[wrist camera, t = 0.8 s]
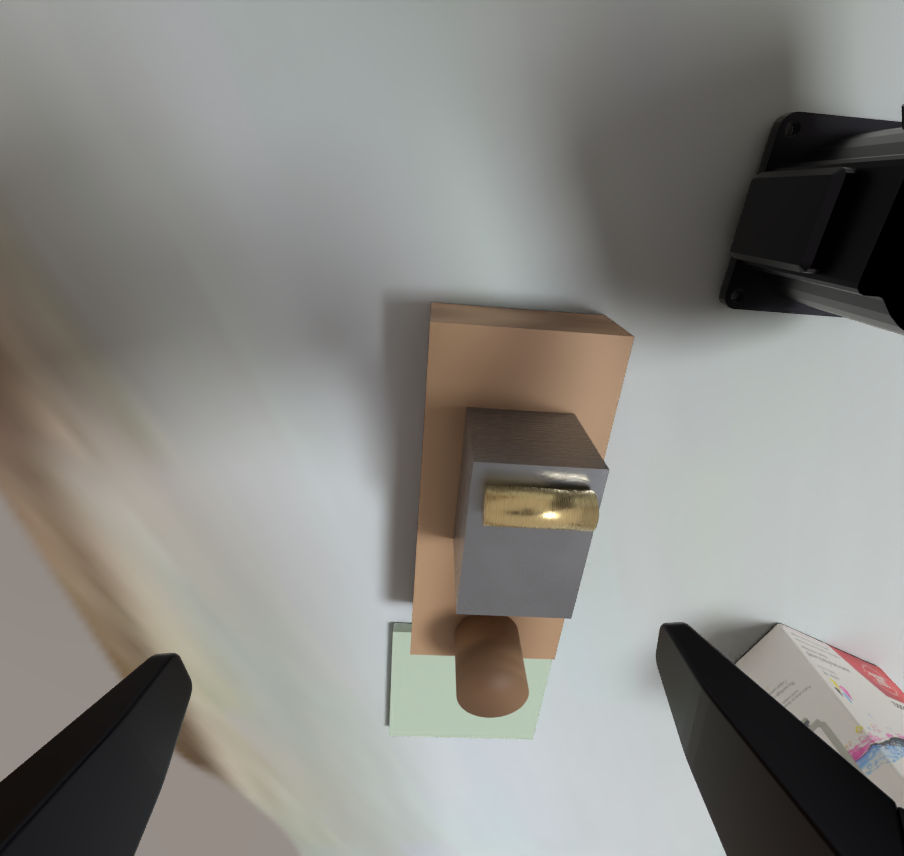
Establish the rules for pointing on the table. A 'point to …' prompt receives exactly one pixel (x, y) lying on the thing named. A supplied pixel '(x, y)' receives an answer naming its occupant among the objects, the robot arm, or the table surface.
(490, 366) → the body
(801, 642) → the ink cartridge box
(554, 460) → the lever cap
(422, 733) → the mat
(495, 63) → the table surface
